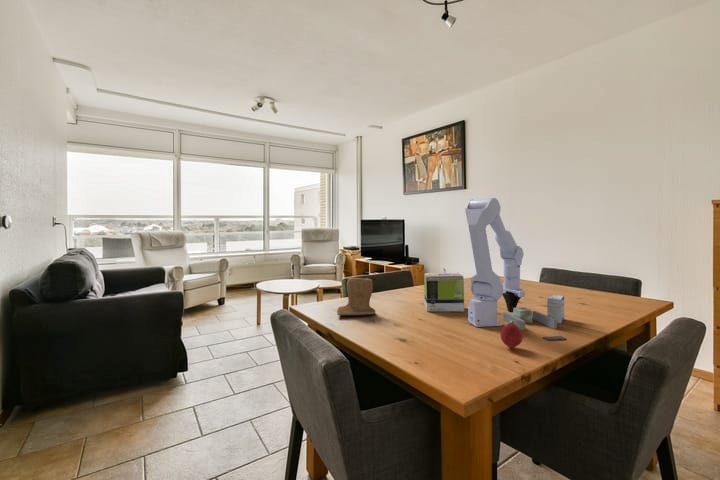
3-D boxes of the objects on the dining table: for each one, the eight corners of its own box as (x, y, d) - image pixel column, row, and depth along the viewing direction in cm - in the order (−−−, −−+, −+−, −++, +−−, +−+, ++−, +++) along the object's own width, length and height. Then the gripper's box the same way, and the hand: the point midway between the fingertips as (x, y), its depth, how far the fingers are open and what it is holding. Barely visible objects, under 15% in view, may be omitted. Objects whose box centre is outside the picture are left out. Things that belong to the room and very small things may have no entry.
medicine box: (561, 324, 119) (561, 299, 119) (546, 322, 122) (547, 298, 121) (564, 319, 125) (564, 295, 125) (550, 317, 128) (550, 294, 128)
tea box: (459, 306, 147) (459, 272, 146) (464, 312, 137) (464, 275, 136) (424, 306, 148) (423, 272, 148) (426, 312, 138) (426, 275, 138)
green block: (520, 323, 121) (520, 310, 121) (513, 319, 126) (513, 307, 125) (532, 323, 122) (532, 310, 121) (524, 319, 126) (525, 307, 126)
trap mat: (547, 340, 103) (547, 339, 103) (542, 338, 105) (542, 336, 105) (566, 339, 103) (566, 338, 103) (561, 337, 106) (561, 335, 106)
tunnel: (521, 330, 113) (521, 321, 113) (503, 320, 125) (503, 312, 125) (557, 328, 114) (557, 319, 114) (535, 318, 126) (535, 310, 126)
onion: (521, 353, 93) (521, 324, 93) (498, 349, 96) (498, 321, 96) (523, 347, 98) (523, 319, 98) (502, 343, 101) (502, 316, 101)
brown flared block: (373, 310, 143) (373, 274, 142) (376, 317, 131) (376, 278, 130) (337, 311, 142) (336, 275, 141) (337, 319, 130) (336, 280, 129)
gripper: (532, 279, 123) (532, 316, 124) (511, 273, 138) (511, 307, 139) (514, 280, 123) (514, 317, 124) (494, 274, 137) (494, 307, 138)
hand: (511, 311), depth 131 cm, fingers closed
